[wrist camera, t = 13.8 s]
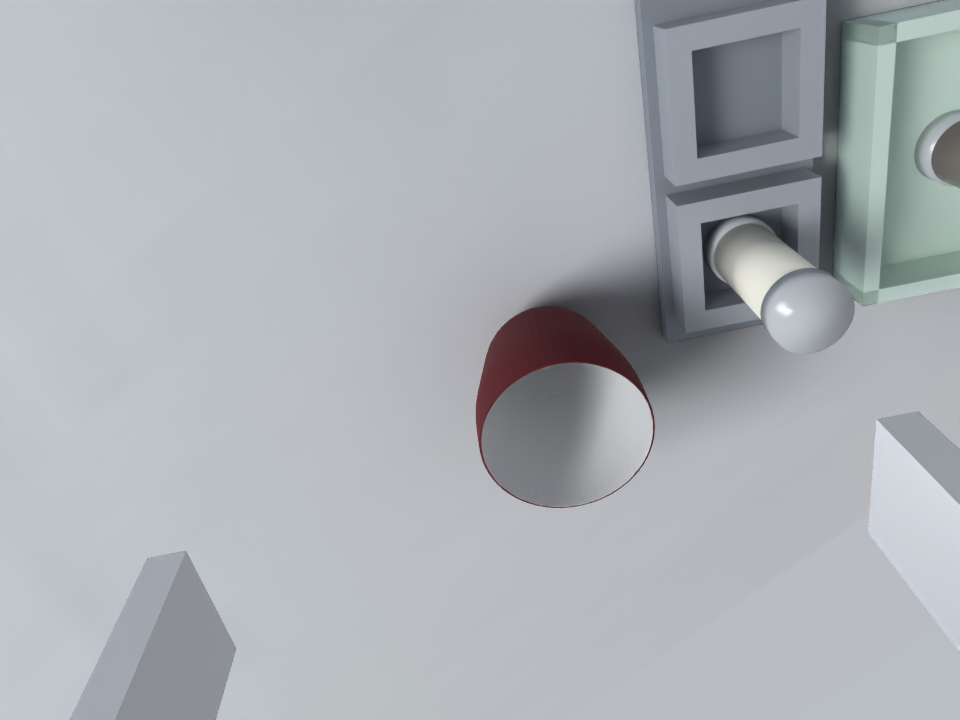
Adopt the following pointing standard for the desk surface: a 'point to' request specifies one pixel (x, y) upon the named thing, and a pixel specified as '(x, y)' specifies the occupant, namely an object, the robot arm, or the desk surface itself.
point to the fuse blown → (940, 150)
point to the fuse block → (729, 139)
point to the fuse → (779, 285)
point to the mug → (560, 411)
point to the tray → (895, 154)
